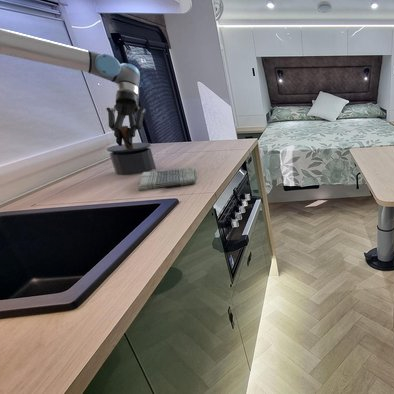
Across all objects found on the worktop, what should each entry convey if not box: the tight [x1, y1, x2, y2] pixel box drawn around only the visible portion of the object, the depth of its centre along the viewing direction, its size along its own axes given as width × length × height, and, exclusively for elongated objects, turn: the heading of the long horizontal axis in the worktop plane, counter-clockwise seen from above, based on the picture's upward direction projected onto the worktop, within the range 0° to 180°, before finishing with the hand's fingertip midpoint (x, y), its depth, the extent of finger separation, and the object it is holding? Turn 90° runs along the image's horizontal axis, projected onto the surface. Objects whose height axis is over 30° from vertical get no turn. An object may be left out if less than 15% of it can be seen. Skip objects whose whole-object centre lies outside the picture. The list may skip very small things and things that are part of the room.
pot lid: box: [106, 125, 152, 153], centre depth 116 cm, size 15×15×9 cm
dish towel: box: [137, 167, 197, 192], centre depth 108 cm, size 19×18×3 cm
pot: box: [109, 147, 157, 176], centre depth 120 cm, size 14×14×8 cm
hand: (124, 143), depth 113 cm, fingers closed on pot lid, 3 cm apart
